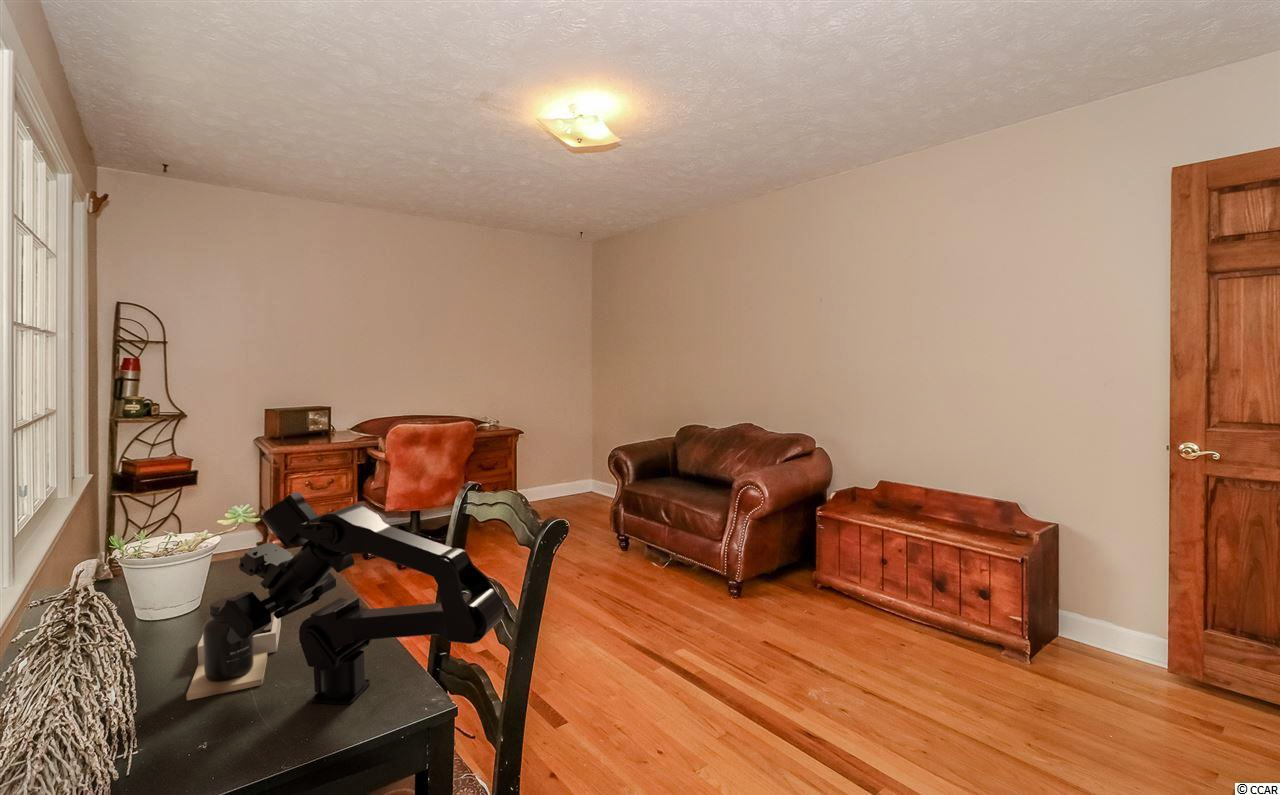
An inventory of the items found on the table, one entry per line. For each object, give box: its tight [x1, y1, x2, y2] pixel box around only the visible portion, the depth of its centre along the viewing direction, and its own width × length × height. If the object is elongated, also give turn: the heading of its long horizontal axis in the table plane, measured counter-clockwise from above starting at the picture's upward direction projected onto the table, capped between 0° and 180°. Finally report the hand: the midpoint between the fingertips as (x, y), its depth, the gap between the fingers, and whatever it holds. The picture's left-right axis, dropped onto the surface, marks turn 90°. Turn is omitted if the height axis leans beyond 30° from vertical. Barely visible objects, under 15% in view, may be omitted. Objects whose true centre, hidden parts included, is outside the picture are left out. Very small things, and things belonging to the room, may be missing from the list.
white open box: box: [197, 612, 282, 666], centre depth 114 cm, size 12×12×4 cm
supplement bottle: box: [202, 596, 254, 681], centre depth 102 cm, size 7×7×12 cm
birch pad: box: [186, 652, 268, 701], centre depth 102 cm, size 10×10×1 cm
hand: (253, 628), depth 101 cm, fingers open, 9 cm apart
